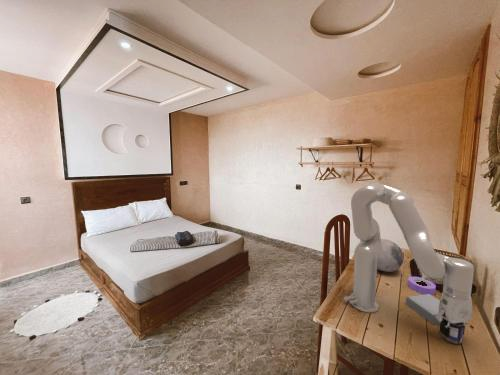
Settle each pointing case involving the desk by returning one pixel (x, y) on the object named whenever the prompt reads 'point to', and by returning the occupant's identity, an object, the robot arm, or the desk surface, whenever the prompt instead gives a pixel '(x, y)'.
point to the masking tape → (419, 288)
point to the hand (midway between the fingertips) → (451, 332)
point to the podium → (424, 306)
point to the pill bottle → (455, 333)
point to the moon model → (389, 256)
